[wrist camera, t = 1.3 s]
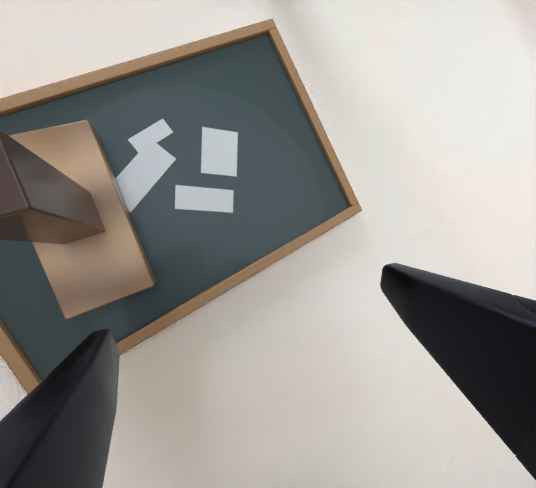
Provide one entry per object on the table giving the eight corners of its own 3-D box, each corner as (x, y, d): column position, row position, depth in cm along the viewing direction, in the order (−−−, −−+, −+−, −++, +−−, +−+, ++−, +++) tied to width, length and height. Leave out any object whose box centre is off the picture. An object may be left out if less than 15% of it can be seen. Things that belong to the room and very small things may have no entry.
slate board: (41, 397, 19) (34, 405, 18) (-129, 147, 17) (-147, 141, 16) (355, 211, 27) (362, 210, 26) (268, 26, 25) (272, 17, 24)
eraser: (157, 281, 21) (132, 317, 9) (79, 311, 19) (-65, 398, 8) (98, 135, 20) (-8, -25, 8) (12, 154, 18) (-261, -10, 7)
